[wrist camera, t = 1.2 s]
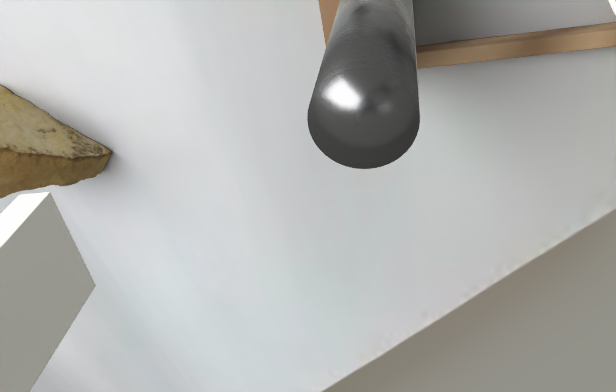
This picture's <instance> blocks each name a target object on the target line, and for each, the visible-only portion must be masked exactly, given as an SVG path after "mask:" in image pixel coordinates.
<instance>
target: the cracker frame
mask: <svg viewBox="0 0 616 392" xmlns="http://www.w3.org/2000/svg"><path fill="white" fill-rule="evenodd" d="M339 3H340V0H319V6H320V12H321V18H322V25H323V31H324V37H325V43H326V47H327V43H328V40H329V37H330V33H331V30H332V26H333V23H334V20H335V16H336V13H337V9H338V6H339ZM612 46H616V22H613V23H605V24H597V25H588V26H580V27H572V28H564V29H555V30H547V31H539V32H531V33H522V34H514V35H506V36H498V37H489V38H481V39H473V40H465V41H456V42H448V43H440V44H432V45H423V46H416V58H417V69H419V68H428V67H436V66H445V65H454V64H463V63H472V62H480V61H489V60H498V59H507V58H516V57H524V56H533V55H542V54H551V53H560V52H568V51H577V50H586V49H595V48H604V47H612Z"/></svg>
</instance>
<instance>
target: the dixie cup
mask: <svg viewBox="0 0 616 392" xmlns="http://www.w3.org/2000/svg"><path fill="white" fill-rule="evenodd" d="M608 1H609V3H610V6H611V8H612V10H613V12H614V14H615V15H616V0H608Z"/></svg>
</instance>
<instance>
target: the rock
mask: <svg viewBox="0 0 616 392" xmlns="http://www.w3.org/2000/svg"><path fill="white" fill-rule="evenodd" d="M110 155H111V152H110V151H109V150H108V149H107V148H105V147H104V146H103V145H101V144H99V143H97V142H95V141H93V140H91V139H90V138H88V137H85V136H83V135H82V134H80V133H79V132H78V131H75V130H74V129H72V128H71V127H69V126H67V125H64V124H63V123H61V122H60V121H58V120H56V119H54V118H53V117H51V116H50V114H49V113H47V112H46V111H44V110H42V109H40V108H38V107H36V106H35V105H33V104H32V103H31V102H29V101H26V100H24V99H22V98H20V97H19V96H15V95H14V94H13V93H11V92H10V91H9V90H8V89H6V88H5V87H2V86H1V85H0V198H3V197H6V196H7V195H9V194H11V193H15V192H18V191H22V190H32V189H36V188H39V187H46V186H49V185H59V186H68V185H72V184H75V183H77V182H79V181H80V180H84V179H87V178H93V177H95V176H96V175H97V174H100V173H101V172H102V171H103V169H104V167H105V165H106V163H107V161H108V160H109V158H110Z"/></svg>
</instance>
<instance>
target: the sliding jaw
mask: <svg viewBox="0 0 616 392" xmlns="http://www.w3.org/2000/svg"><path fill="white" fill-rule="evenodd" d="M419 123H420V113H419V98H418V72H417V58H416V44H415V29H414V16H413V2H412V0H340V3H339V6H338V9H337V13H336V16H335V20H334V23H333V26H332V30H331V33H330V37H329V40H328V43H327V47H326V50H325V54H324V57H323V60H322V64H321V67H320V71H319V74H318V77H317V81H316V84H315V88H314V91H313V94H312V98H311V101H310V105H309V109H308V127H309V131H310V134H311V136H312V139H313V140H314V142H315V144H316V145H317V146H318V148H319V149H320V150H321V151H322V152H323V153H324V154H325V155H326V156H328V157H329V158H330V159H332V160H334V161H335V162H337V163H339V164H342V165H345V166H348V167H352V168H359V169H370V168H377V167H381V166H384V165H387V164H389V163H391V162H393V161H395V160H397V159H398V158H399V157H401V156H402V155H403V154H404V153H405V152H406V151H407V150H408V149H409V148H410V147H411V145H412V143H413V142H414V140H415V138H416V136H417V133H418V129H419Z"/></svg>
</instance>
